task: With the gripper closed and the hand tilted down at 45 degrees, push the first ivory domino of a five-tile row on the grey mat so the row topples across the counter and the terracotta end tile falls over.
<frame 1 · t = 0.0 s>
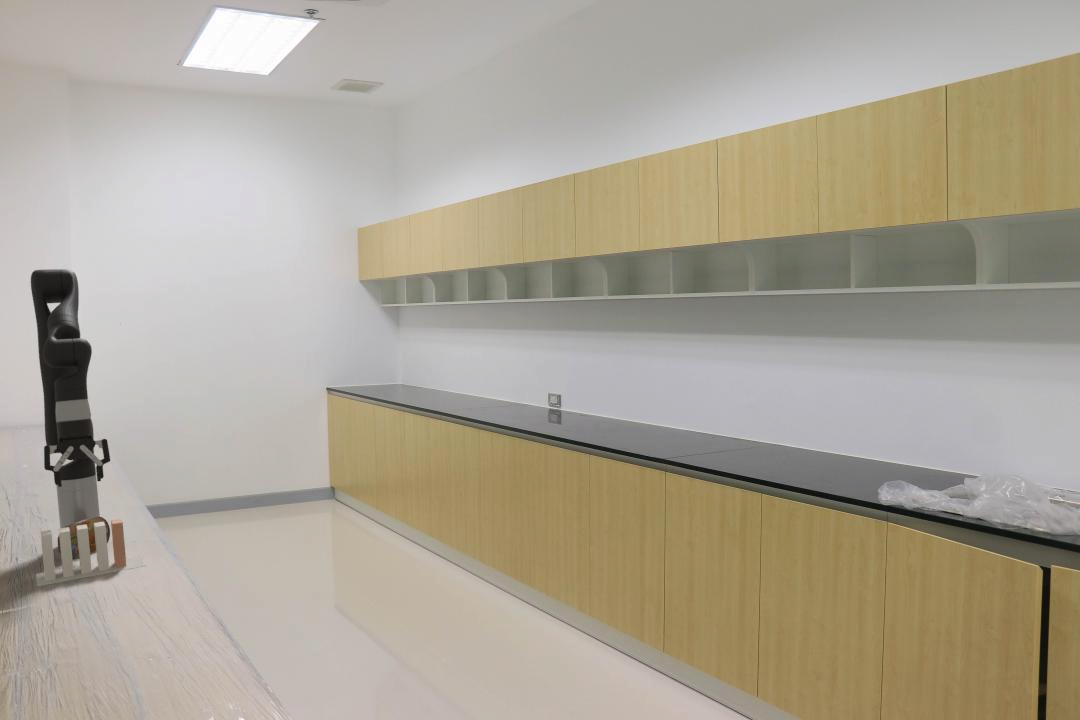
hand: (79, 483, 205), 17 cm above the table, tool pointing down, fingers open, 8 cm apart
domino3: (85, 570, 187), resting on mat
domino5: (120, 564, 190), resting on mat
domino4: (103, 567, 188), resting on mat
domino1: (50, 577, 183), resting on mat
mat: (91, 571, 187), on the table
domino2: (68, 574, 185), resting on mat
tin: (85, 554, 204), on the table
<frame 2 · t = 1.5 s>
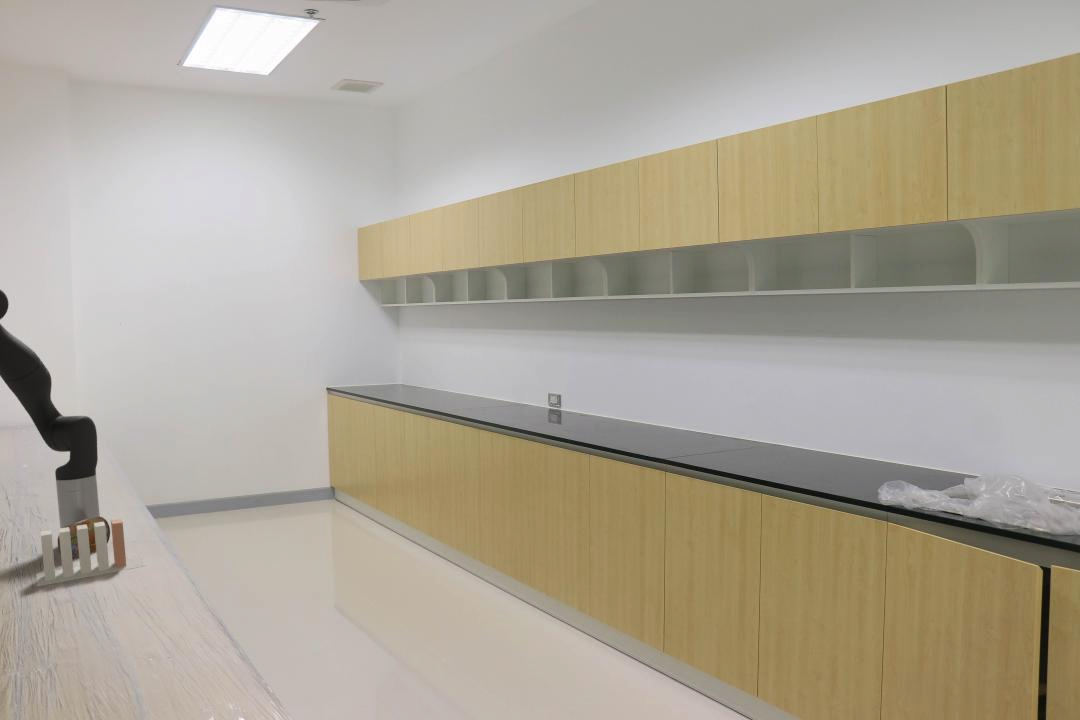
nothing on the table moved.
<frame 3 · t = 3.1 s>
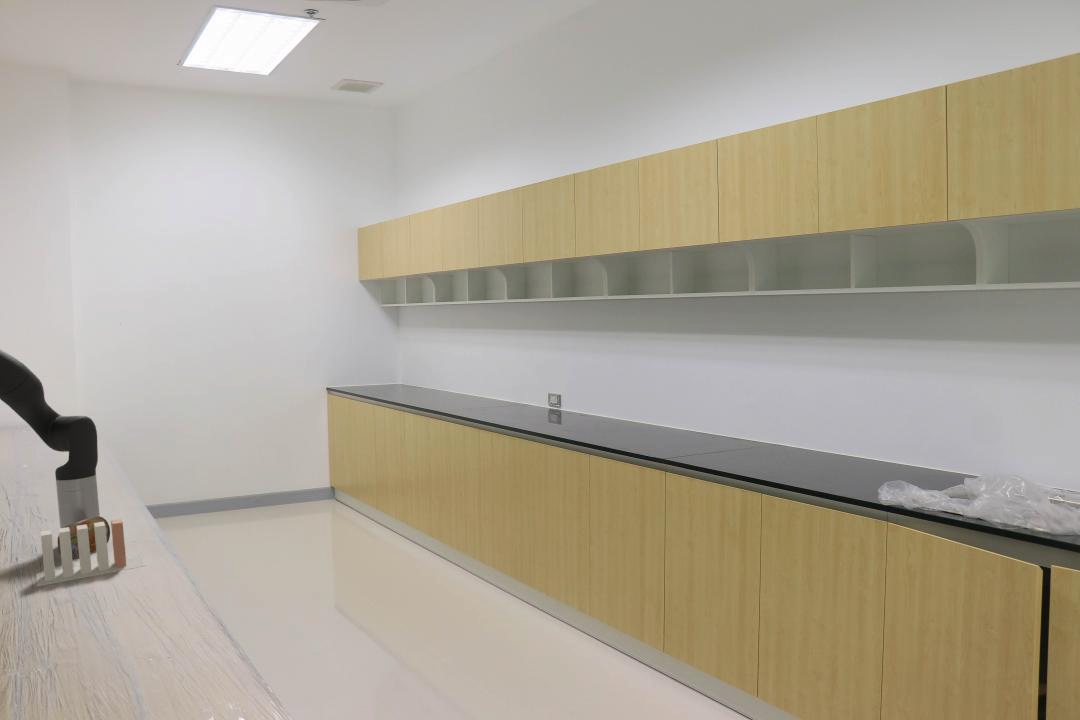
nothing on the table moved.
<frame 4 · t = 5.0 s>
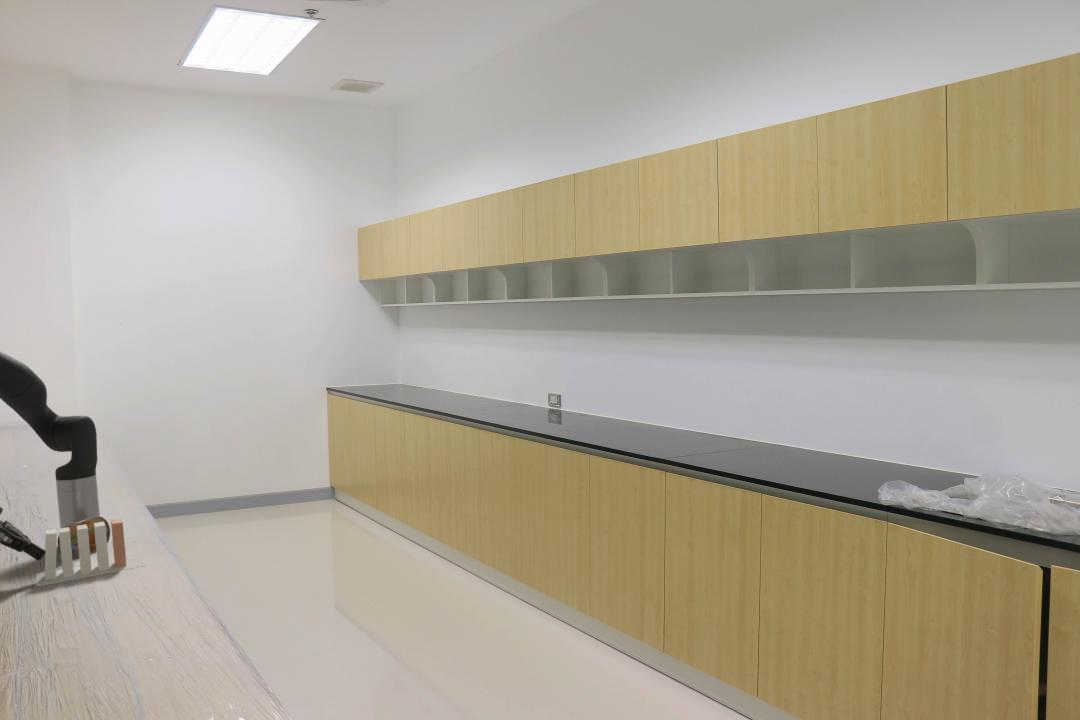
hand: (42, 556, 182), 5 cm above the table, tool tilted 45°, fingers closed
domino1: (50, 576, 183), resting on mat, tilted 6°
everything else where it was.
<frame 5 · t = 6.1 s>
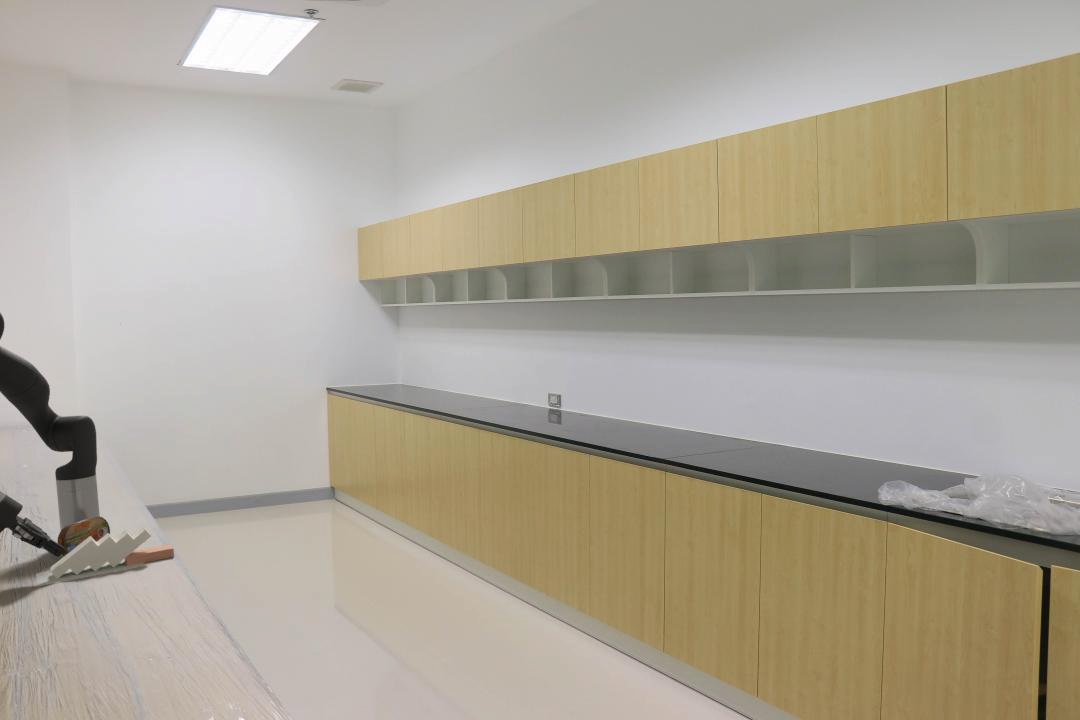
hand: (61, 552, 184), 5 cm above the table, tool tilted 45°, fingers closed
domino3: (91, 566, 187), point 1 cm above the table, tilted 56°, touching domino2, domino4
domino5: (125, 559, 191), point 1 cm above the table, tilted 90°, touching domino4, mat
domino4: (109, 562, 189), point 1 cm above the table, tilted 56°, touching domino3, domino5
domino1: (54, 572, 183), point 1 cm above the table, tilted 56°, touching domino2, mat
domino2: (72, 569, 185), point 1 cm above the table, tilted 56°, touching domino1, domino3, mat
everything else where it was.
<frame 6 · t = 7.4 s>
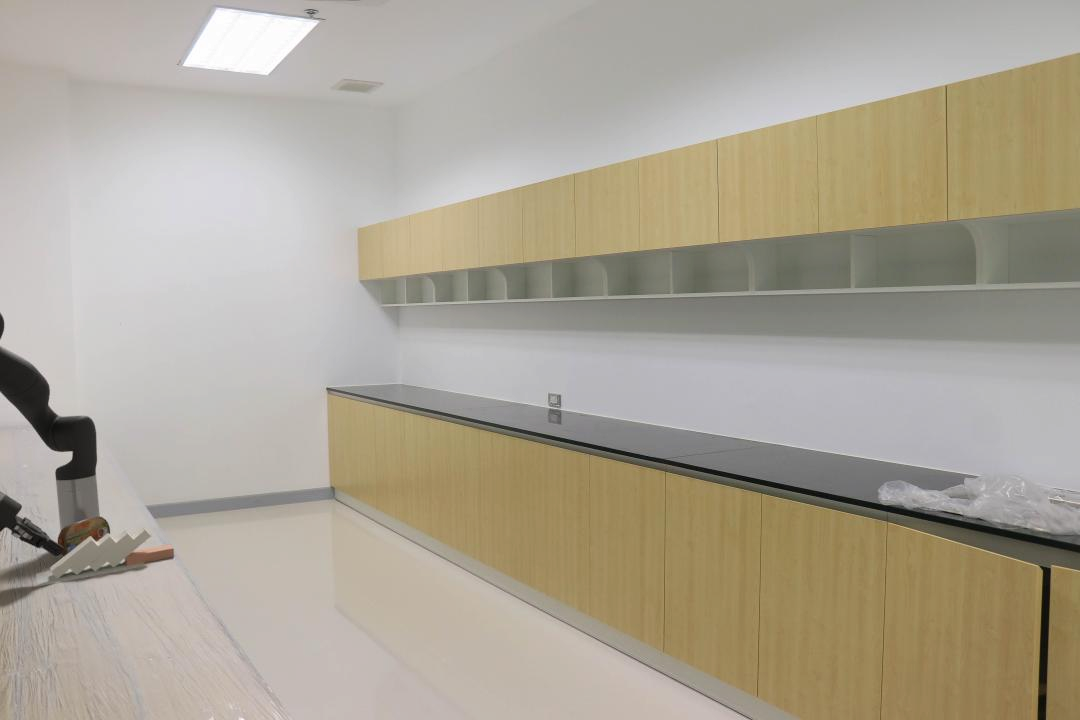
hand: (60, 552, 184), 5 cm above the table, tool tilted 45°, fingers closed
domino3: (91, 566, 187), point 1 cm above the table, tilted 56°, touching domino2, domino4, mat
everything else where it was.
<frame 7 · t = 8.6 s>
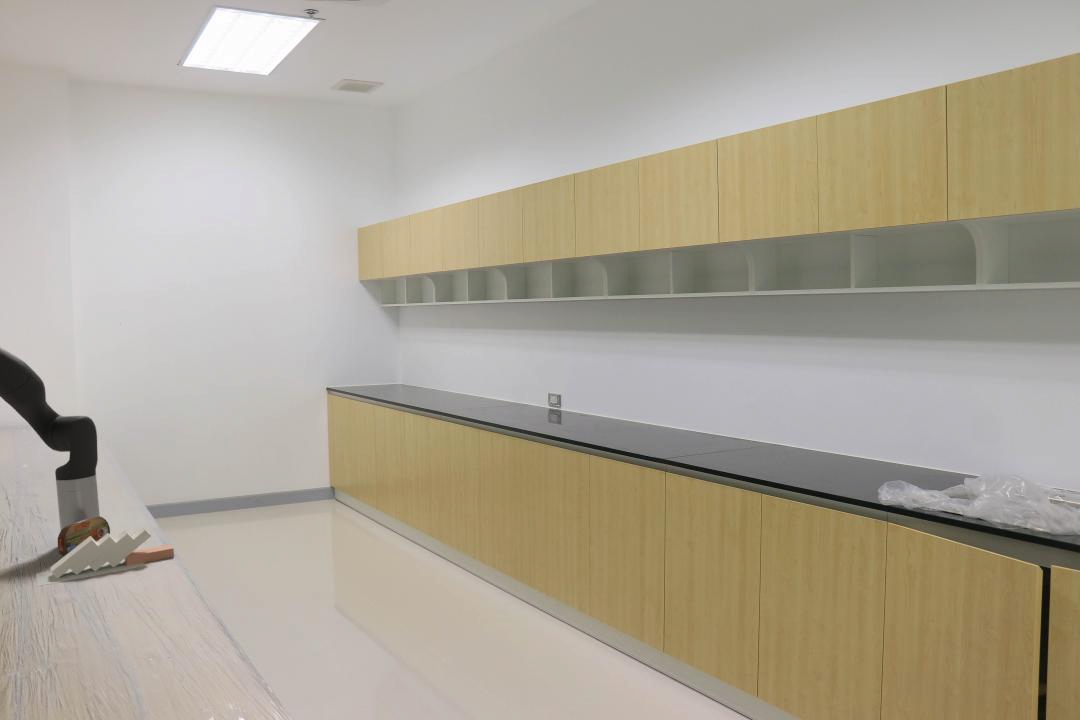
nothing on the table moved.
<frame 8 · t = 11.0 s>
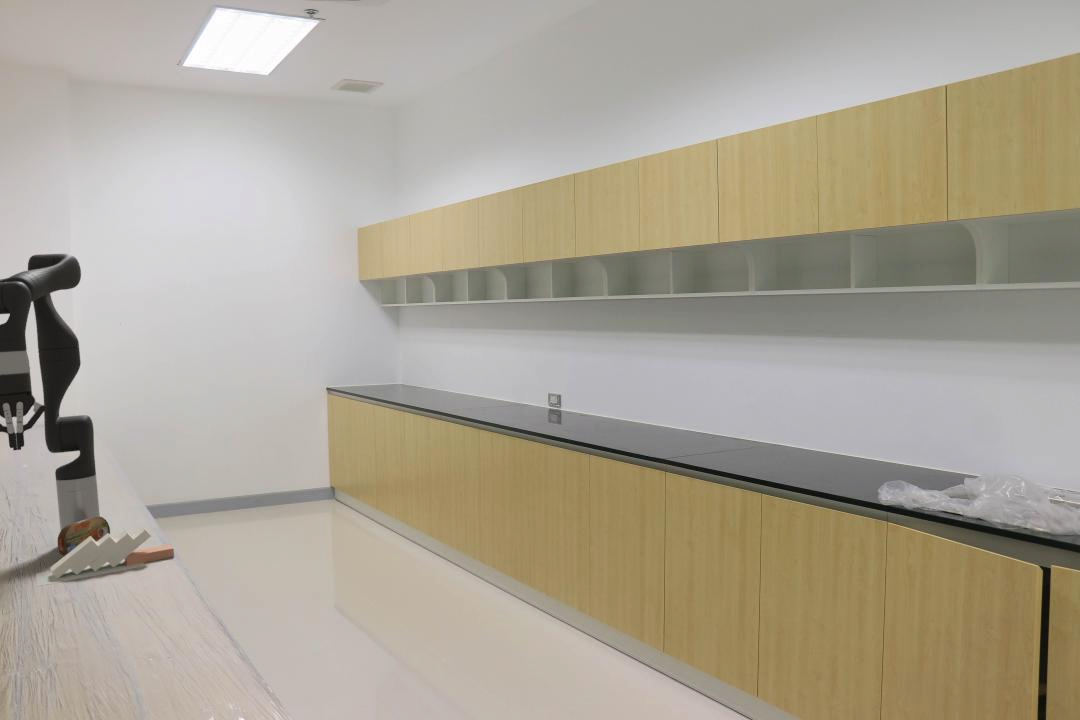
hand: (17, 449, 184), 29 cm above the table, tool pointing down, fingers closed
nothing on the table moved.
at the end: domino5 tilted 90°; domino1 tilted 56°; the gripper is holding nothing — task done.
